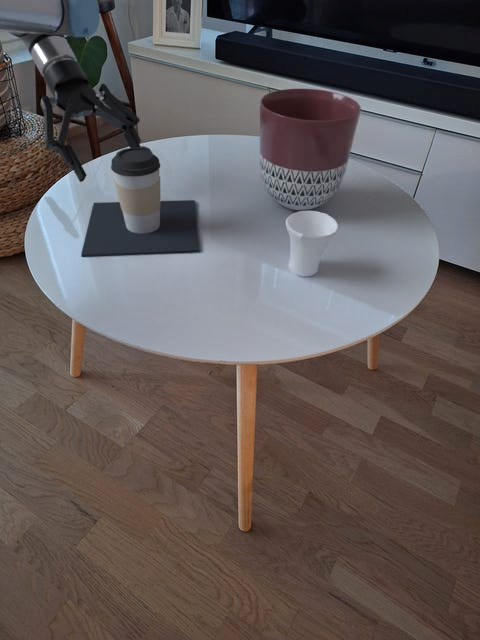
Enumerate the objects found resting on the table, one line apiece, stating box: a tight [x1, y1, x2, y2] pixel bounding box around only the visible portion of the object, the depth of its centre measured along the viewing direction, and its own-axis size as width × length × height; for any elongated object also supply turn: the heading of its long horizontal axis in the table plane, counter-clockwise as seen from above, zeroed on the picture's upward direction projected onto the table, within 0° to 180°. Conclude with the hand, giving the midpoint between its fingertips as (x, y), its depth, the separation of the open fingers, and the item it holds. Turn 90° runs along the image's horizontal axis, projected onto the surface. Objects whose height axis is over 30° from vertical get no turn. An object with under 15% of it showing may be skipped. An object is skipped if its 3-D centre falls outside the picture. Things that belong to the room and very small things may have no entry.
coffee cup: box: [110, 145, 161, 234], centre depth 89 cm, size 9×9×15 cm
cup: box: [285, 210, 339, 278], centre depth 82 cm, size 9×9×10 cm
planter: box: [259, 88, 362, 211], centre depth 97 cm, size 20×20×21 cm
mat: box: [80, 199, 201, 258], centre depth 95 cm, size 22×20×1 cm
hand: (114, 169), depth 93 cm, fingers open, 13 cm apart
